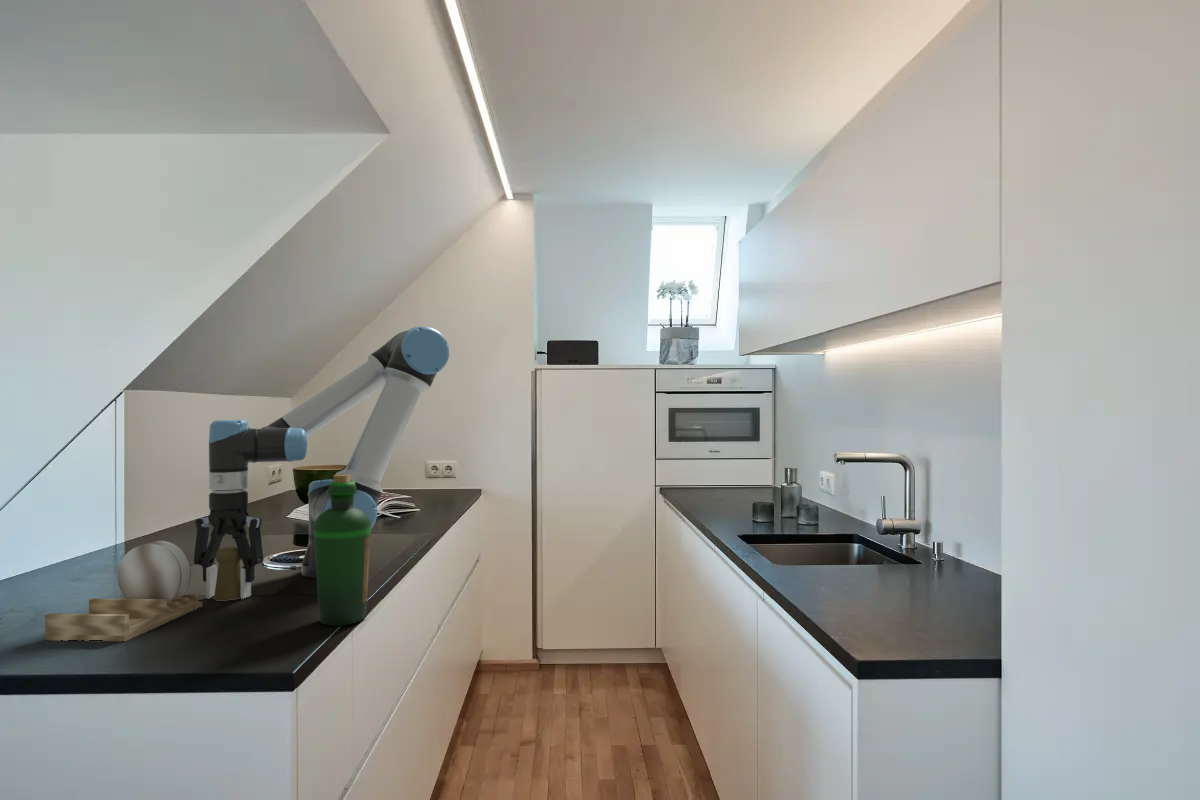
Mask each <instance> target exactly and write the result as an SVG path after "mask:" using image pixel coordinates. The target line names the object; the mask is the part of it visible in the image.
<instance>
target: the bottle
mask: <svg viewBox="0 0 1200 800" xmlns="http://www.w3.org/2000/svg"><path fill="white" fill-rule="evenodd" d="M333 479H334V482H330V483H329V488H328V493H327V494H328V495H330V496H331V507H332V508H330V509H327V510H326V511H324V512H323V513H322V514H320V515H319V516H318V518H317V519H316V521H315V522H314V524H313V527H314V543H315V558H316V574H317V578H316V584H317V585H316V587H317V588H316V589H317V600H318V601H317V602H318V617H319V623H320V624H323V625H326V626H330V627H342V626H350V625H354V624H356V623H359V622H361V621H363V620H364V619H365V618H367V613H368V612H367V611H368V610H367V609H368V607H367V606H368V593H369V592H368V589H369V588H368V587H369V574H370V573H369V572H370V555H371V554H370V551H371V537H372V536H371V535H372V528H371V521H370V519H369V518H368V516H367V515H366V514H365V513H364V512H363V511H361V510H360V509H358V508H356V507H353V503H354V494H356V493H357V489H356V485H355V481H350V479H351V475H348V474H343V475H335V474H334V475H333Z"/></svg>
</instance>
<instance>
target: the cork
mask: <svg viewBox="0 0 1200 800" xmlns="http://www.w3.org/2000/svg"><path fill="white" fill-rule="evenodd" d="M215 561H216V562H217V563H218V565H217V579H216V586H215V594H214V597H213V600H214V599H216V600H229V599H237V598H241V568H242V566H241V561H242V559H241V556H240V553H239V550H238V547H237V546H234V545H233V546H229V545H228V546H223V547H221V548H220V547H219V549H218V551H217V552H216V558H215Z"/></svg>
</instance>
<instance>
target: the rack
mask: <svg viewBox="0 0 1200 800" xmlns="http://www.w3.org/2000/svg"><path fill="white" fill-rule="evenodd" d="M191 579H192V567H191V564H190V559H189V558H188V556H187V555H186V553H185V552H184V551H183V549H182V548H180V547H179V546H178V545H176V544H175V543H173V542H170V541H166V540H156V541H151V542H149V543H146V544H145V543H144V544H141V545H137V546H135V547H133V548H132V549H130V550H129V551H128V552H127V553H126V554H125V555H124V556H123V557H122V559H121V561H120V562H119V566H118V569H117V583H118V584H117V585H118V588H119V590H120V592H121V594H122V595H123V596H122V597H120V598H100V597H99V598H95V597H94V598H91V599H88V612H87V613H64V612H63V613H60V612H59V613H57V612H55V613H53V612H52V613H51V612H50V613H46V614H44V640H45V641H61V640H63V642H64V641H66V642H67V641H68V640H78V641H79V642H80V641H81V640H84V641H83V642H90V641H89V640H103V641H102V642H122V641H125V642H127V641H129V640H131V639H134V638H136V637H138V636H140V634H141V635H143V634H145V633H147V632H149V630H150V631H152V630H153V629H156V628H158V627H161V626H163V625H164V624H167V623H169V621H170V622H171V620H172V621H174V620H176V619H178V617H179V618H181V617H183V616H185V615H187V614H186V613H188V612H190V611H192V610H194V609H196V608H198V607H201V606H203V605H204V603H203V601H199V593H186V591H187V589H188V588H189V587H190V583H191ZM203 607H204V606H203ZM201 608H202V607H201ZM196 610H197V609H196ZM194 611H195V610H194ZM192 612H193V611H192ZM190 613H191V612H190ZM184 614H185V615H184ZM188 614H189V613H188ZM182 615H183V616H182ZM180 616H181V617H180ZM160 625H161V626H160ZM133 637H134V638H133ZM78 641H77V642H78ZM81 642H82V641H81Z"/></svg>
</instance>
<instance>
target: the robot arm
mask: <svg viewBox="0 0 1200 800" xmlns="http://www.w3.org/2000/svg"><path fill="white" fill-rule="evenodd" d="M449 357H450V347H449V344H448V342H447V339H446V337H445V336H444V335H443V334H442V333H441V332H440V331H439V330H437V329H435V328H432V327H429V326H420V325H419V326H415V327H412V328H409V330H404V331H401V332H398V333H396V334H395V335H394V336H393V337H392V338H390V339H389V340H388V341H387V342H386V343H384V344H383V345H382V346H380V347H379V348H378V349H377V350H375V351H373V352H372V353H370V354H369V355H368V356H367V361H366V362H364V363H362V364H361V365H360V366H358V367H356V368H355V369H353V370H352V371H350V372H348V373H347V374H346V375H344V376H343V377H341V378H339V379H338V380H337V381H335V382H334V383H332V384H330V385H328V386H327V387H325V388H323V390H321V391H319V392H317V393H316V394H315V395H313V396H312V397H309V399H307V400H305V401H304V402H303V403H301V404H299V405H298V406H296V407H294V408H293V409H291V410H289V411H287V413H285V414H284V415H282V416H281V417H280V418H278V419H276V420H275V421H273V422H272V423H269V424H268V425H265V426H263V427H262V428H252V427H251V428H250V427H249V423H248V421H247V420H245V419H223V420H222V419H219V420H218V419H217V420H214V421H212V422H211V423H210V424H209V433H208V435H209V438H208V469H209V470H208V471H209V472H208V477H209V479H208V482H209V483H208V484H209V486H208V489H209V491H211V492H210V493H209V494H208V508H209V515H208V516H207V517H205V516H203V517H200V518H196V519H195V527H196V537H195V545H194V546H195V547H194V556H193V564H194V565H199V566H201V567H202V581H203V582H204V583H206V585H205V591H206V592H205V594H206V596H205V598H206V599H211V597H212V596H214V594H215V586H216V579H217V572H218V565H216V562H215V561H216V552H217V551H218V550H219V549H220V546H221V543H222V541H223V538H224V537H225V535H231V537H232V539H233V540H234V541H235V543H236V547H238V550H239V553H240V556H241V561H242V564H243V566H242V567H241V599H240V600H245V599H247V598H249V597H251V596H252V582H254V581H255V567H256V566H257V565H259V564H261V563H263V562H264V560H265V559H264V553H263V544H262V543H263V542H262V534H261V525H262V521H263V520H262V518H261V517H252V516H249V513H248V507H249V493H248V491H247V490H246V489H248V488H249V464H251V463H273V462H275V463H276V462H279V463H280V462H288V463H291V462H295V461H296V462H297V461H303V460H304V459H305V458H306V457H307V453H308V437H310V436H311V435H313V434H314V433H316V432H318V431H319V430H320V429H322V428H323V427H325V426H326V425H328V424H330V422H333V421H334V420H335V419H337V418H338V417H340V416H341V415H343V414H344V413H347V412H348V411H349V410H351V409H352V408H353V407H355V406H356V405H358V404H359V403H361V402H362V401H364V400H365V399H367V398H368V397H370V396H372V395H373V394H374V393H376V392H377V391H379V390H380V389H382V390H381V392H380V394H379V396H378V399H377V401H376V403H375V405H374V406H373V410H371V411H372V412H371V413H370V414H369V415H370V416H369V418H368V419H367V422H366V424H365V426H364V429H363V430H362V433H361V435H360V437H359V439H358V441H357V444H356V446H355V448H354V449H353V452H352V454H351V456H350V458H349V461H348V463H347V465H346V467H345V468H344V469H343V470H340V471H338V472H336V473H335V474H334V475H343V474H348V475H351V479H350V481H355V485H356V489H357V493H356V494H354V503H353V507H356V508H358V509H360V510H361V511H363V512H364V513H365V514H366V515H367V516H368V518H369V519H370V521H371V529H373V527H374V526H375V523H376V521H377V517H378V507H377V506H378V504H379V502H380V499H381V497H382V496H383V493H384V491H383V488H382V486H381V481H382V480H383V477H384V475H385V472H386V470H387V467H388V466H389V463H390V461H391V459H392V457H393V455H394V453H395V450H396V448H397V447H398V446H397V445H398V444H399V441H400V439H401V437H402V435H403V433H404V431H405V428H406V427H407V424H408V421H409V420H410V418H411V416H412V413H413V410H414V409H415V407H416V404H417V402H418V400H419V397H420V396H421V393H422V392H425V391H427V390H430V389H431V386H432V385H433V383H434V380H435V378H436V376H437V374H438V373H439V372H440V371H442V370H443V369H444V367H445V366H446V365H447V363H448V360H449ZM330 482H334V478H333V479H323V480H321V479H320V480H313V481H312V482H310V483H309V485H308V492H307V497H308V544H307V548H306V550H305V553H304V556H303V560H302V562H301V565H300V567H301V572H300V573H301V574H300V575H301V576H303V577H306V578H309V579H310V578H312V579H317V574H316V558H315V543H314V527H313V524H314V522H315V521H316V519H317V518H318V516H319V515H320V514H322V513H323V512H324V511H326V510H327V509H330V508H332V507H331V496H330V495H328V494H327V493H328V488H329V483H330ZM246 524H247V525H246ZM210 526H212V530H211V534H209V533H210ZM245 526H247V527H248V537H247V530H246V527H245ZM209 536H210V540H209ZM248 538H249V540H248ZM208 542H209V543H208ZM246 597H247V598H246ZM212 598H213V597H212ZM244 598H245V599H244Z"/></svg>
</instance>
